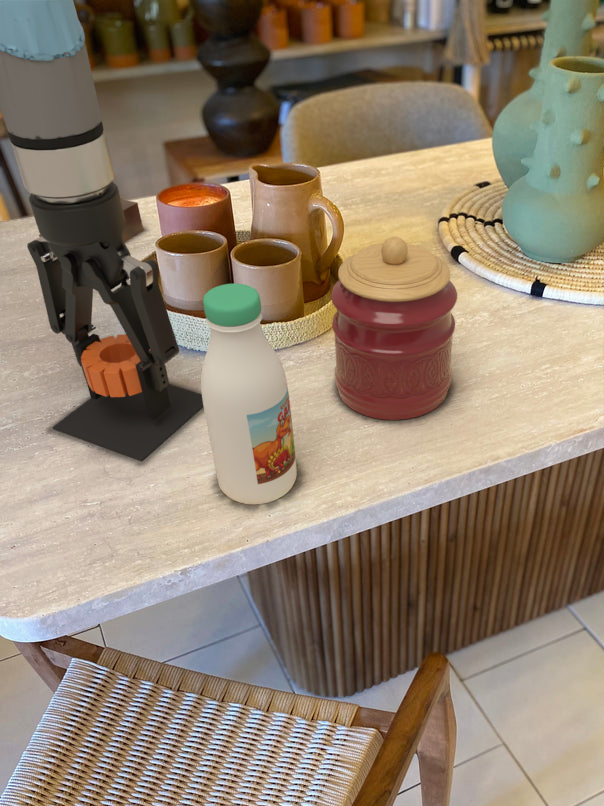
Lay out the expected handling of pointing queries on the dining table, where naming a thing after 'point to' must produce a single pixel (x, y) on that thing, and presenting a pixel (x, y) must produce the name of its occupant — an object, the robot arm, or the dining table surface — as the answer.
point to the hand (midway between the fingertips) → (130, 401)
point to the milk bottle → (246, 400)
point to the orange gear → (112, 367)
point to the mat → (130, 422)
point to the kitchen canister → (393, 330)
